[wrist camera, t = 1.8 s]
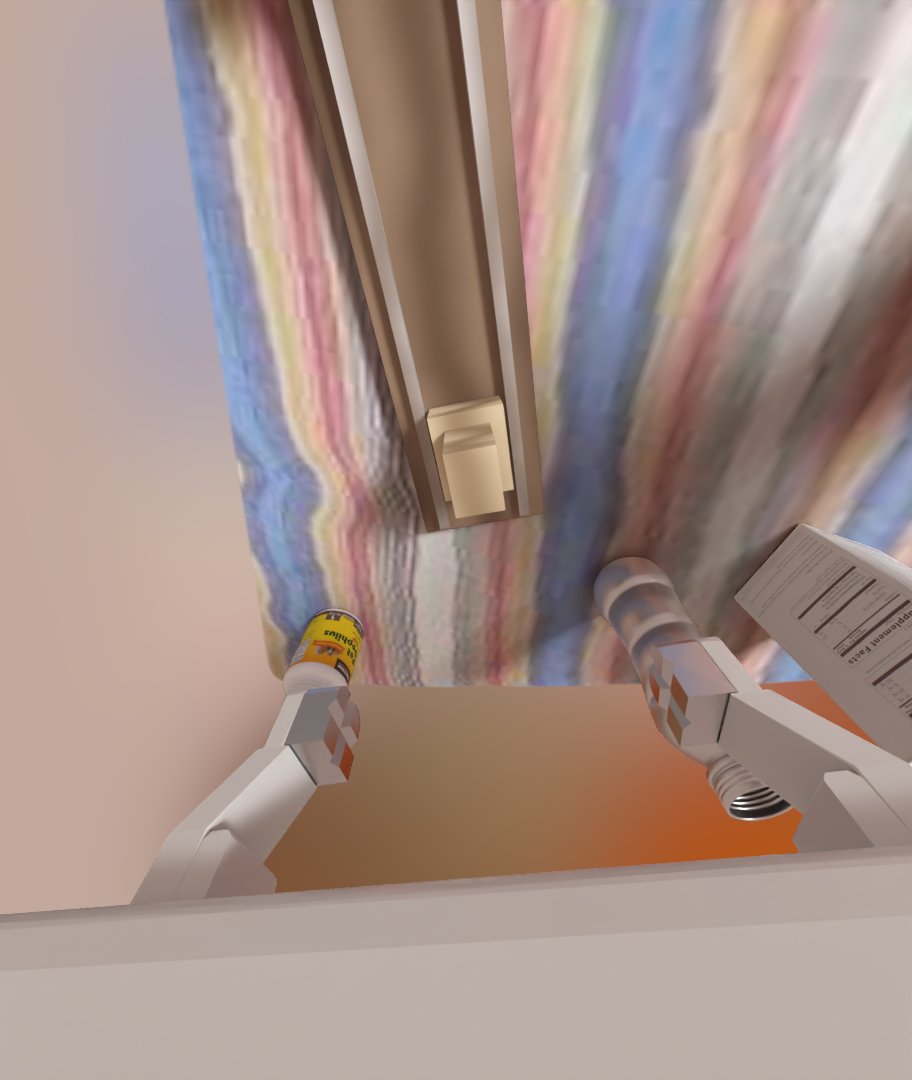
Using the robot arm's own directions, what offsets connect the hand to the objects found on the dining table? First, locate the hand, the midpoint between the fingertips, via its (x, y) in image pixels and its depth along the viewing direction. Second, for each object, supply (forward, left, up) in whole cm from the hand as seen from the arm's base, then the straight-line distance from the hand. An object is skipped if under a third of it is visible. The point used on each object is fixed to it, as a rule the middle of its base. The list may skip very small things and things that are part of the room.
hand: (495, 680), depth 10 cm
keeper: (0, 0, -22) cm, 22 cm away
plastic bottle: (-12, +16, -24) cm, 31 cm away
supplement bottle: (+17, +17, -24) cm, 34 cm away
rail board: (0, -11, -23) cm, 26 cm away
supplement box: (-29, +19, -24) cm, 42 cm away
